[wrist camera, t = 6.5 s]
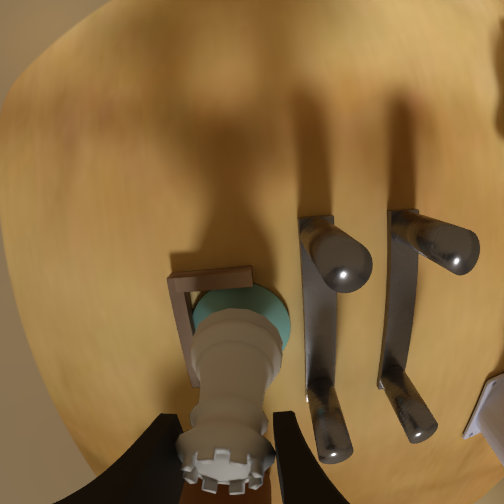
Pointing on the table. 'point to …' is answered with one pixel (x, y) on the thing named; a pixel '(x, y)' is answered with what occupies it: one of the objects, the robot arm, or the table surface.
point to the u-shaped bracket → (220, 303)
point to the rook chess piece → (231, 401)
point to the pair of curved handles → (396, 314)
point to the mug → (226, 494)
